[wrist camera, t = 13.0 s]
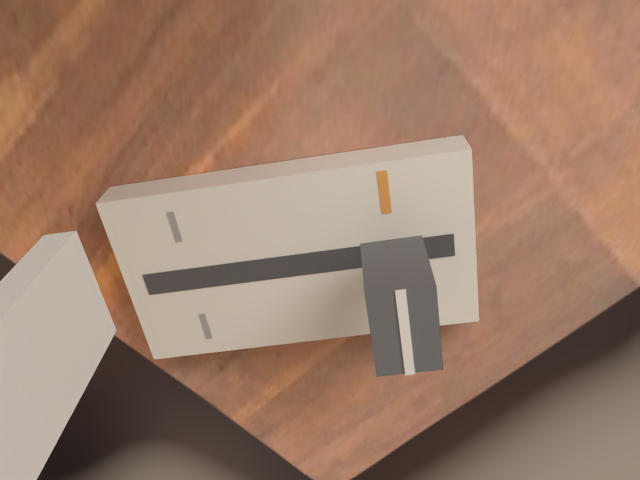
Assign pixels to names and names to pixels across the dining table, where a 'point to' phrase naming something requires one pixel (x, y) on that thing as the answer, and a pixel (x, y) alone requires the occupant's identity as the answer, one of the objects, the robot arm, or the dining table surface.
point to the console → (289, 244)
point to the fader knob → (401, 306)
